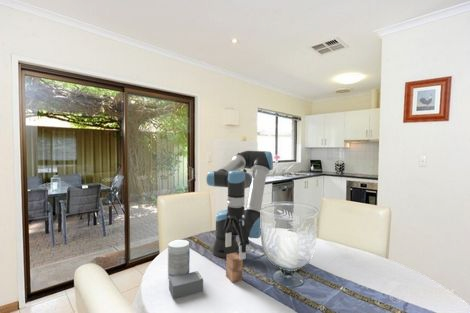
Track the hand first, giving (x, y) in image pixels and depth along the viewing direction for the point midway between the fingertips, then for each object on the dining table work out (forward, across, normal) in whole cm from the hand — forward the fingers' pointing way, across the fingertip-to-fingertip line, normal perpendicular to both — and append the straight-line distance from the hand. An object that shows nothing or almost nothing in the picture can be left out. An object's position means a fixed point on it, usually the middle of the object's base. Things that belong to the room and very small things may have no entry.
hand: (235, 252), depth 106 cm
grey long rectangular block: (+11, +1, -22) cm, 25 cm away
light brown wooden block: (+11, +1, -1) cm, 11 cm away
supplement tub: (+12, -12, -22) cm, 28 cm away
